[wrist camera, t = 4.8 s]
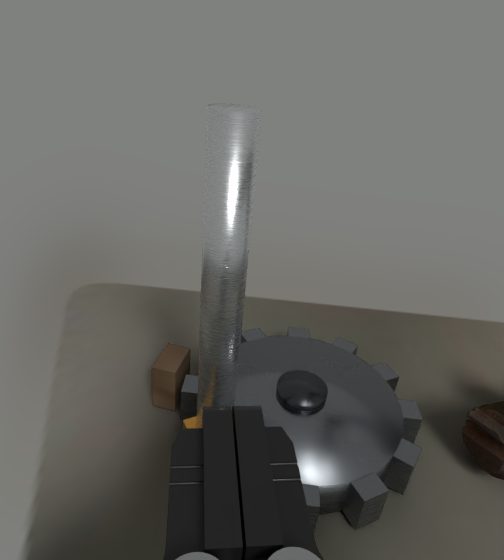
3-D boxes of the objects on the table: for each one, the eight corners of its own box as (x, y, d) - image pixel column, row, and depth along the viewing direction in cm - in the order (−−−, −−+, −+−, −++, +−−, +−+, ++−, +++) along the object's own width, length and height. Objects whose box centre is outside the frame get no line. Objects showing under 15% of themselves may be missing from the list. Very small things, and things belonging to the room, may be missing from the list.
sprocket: (326, 336, 29) (376, 89, 22) (465, 477, 20) (625, 147, 13) (153, 377, 24) (144, 80, 17) (239, 584, 16) (295, 161, 8)
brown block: (189, 385, 24) (190, 348, 23) (174, 411, 23) (174, 372, 21) (168, 379, 25) (168, 343, 23) (152, 405, 23) (151, 367, 22)
